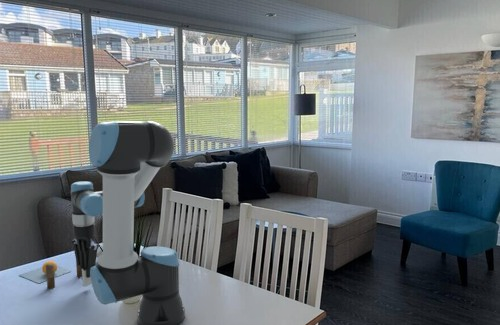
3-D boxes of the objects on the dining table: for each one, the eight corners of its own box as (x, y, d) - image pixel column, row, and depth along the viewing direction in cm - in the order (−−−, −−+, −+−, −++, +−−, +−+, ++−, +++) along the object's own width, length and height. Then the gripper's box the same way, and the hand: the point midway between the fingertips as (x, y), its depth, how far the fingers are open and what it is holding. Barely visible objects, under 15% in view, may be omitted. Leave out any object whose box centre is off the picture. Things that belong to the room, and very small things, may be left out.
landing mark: (71, 271, 169) (71, 271, 169) (38, 283, 157) (38, 283, 157) (51, 264, 177) (51, 263, 177) (18, 275, 165) (18, 275, 165)
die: (110, 267, 175) (120, 246, 179) (91, 259, 173) (102, 238, 177) (108, 267, 183) (118, 247, 186) (90, 259, 180) (101, 239, 184)
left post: (56, 286, 155) (54, 264, 154) (49, 289, 153) (48, 266, 151) (52, 285, 156) (50, 262, 155) (45, 287, 154) (44, 265, 153)
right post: (85, 275, 165) (84, 254, 164) (79, 277, 163) (78, 256, 162) (81, 274, 167) (80, 252, 165) (75, 276, 165) (74, 254, 163)
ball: (51, 261, 170) (55, 273, 169) (37, 265, 166) (42, 278, 165) (56, 257, 167) (61, 269, 166) (43, 261, 163) (48, 274, 162)
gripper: (104, 224, 149) (106, 285, 152) (81, 218, 156) (84, 277, 159) (86, 229, 143) (89, 292, 146) (63, 223, 150) (67, 284, 153)
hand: (87, 284), depth 153 cm, fingers closed
